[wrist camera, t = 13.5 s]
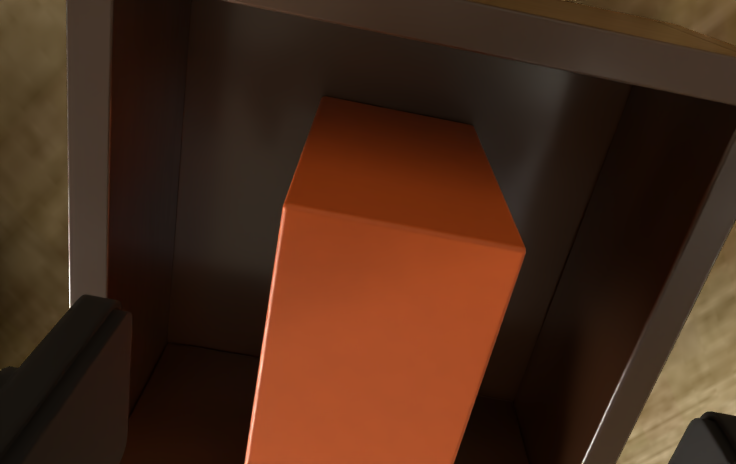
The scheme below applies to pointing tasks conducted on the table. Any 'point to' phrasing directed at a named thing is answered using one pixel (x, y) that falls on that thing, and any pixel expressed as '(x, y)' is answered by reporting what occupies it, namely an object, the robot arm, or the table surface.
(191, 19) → the holder
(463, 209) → the block
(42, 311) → the table surface
